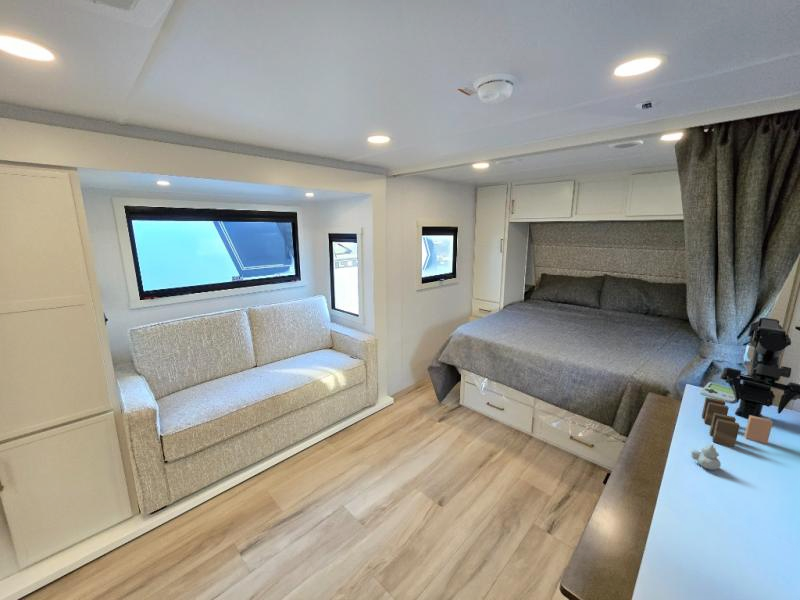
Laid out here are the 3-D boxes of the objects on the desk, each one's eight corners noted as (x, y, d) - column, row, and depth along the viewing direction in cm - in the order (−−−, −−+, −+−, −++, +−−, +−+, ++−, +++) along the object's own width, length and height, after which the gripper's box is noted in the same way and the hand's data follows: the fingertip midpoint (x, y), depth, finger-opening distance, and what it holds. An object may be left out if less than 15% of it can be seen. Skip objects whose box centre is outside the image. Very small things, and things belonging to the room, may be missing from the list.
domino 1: (701, 416, 122) (705, 397, 120) (719, 420, 119) (724, 400, 117) (702, 418, 120) (706, 398, 119) (720, 422, 118) (725, 402, 116)
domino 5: (744, 436, 110) (749, 415, 108) (765, 441, 108) (771, 419, 106) (745, 438, 109) (751, 417, 107) (767, 443, 106) (773, 422, 104)
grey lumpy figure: (718, 476, 93) (724, 452, 91) (688, 465, 98) (693, 441, 96) (719, 466, 97) (724, 442, 95) (689, 455, 101) (694, 433, 100)
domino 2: (703, 421, 119) (708, 401, 117) (722, 426, 116) (727, 405, 114) (705, 423, 117) (709, 403, 115) (723, 428, 115) (728, 407, 113)
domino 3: (709, 433, 112) (713, 412, 110) (729, 438, 109) (734, 416, 108) (710, 435, 111) (715, 414, 109) (730, 440, 108) (735, 419, 106)
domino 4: (712, 439, 109) (717, 418, 107) (732, 444, 106) (738, 423, 104) (713, 442, 107) (718, 420, 106) (734, 447, 105) (739, 425, 103)
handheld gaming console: (699, 391, 137) (709, 381, 146) (699, 394, 138) (708, 384, 146) (732, 401, 129) (740, 389, 138) (732, 404, 130) (740, 393, 138)
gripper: (731, 345, 108) (722, 389, 104) (820, 363, 96) (813, 413, 92) (724, 357, 116) (715, 398, 112) (805, 375, 104) (798, 421, 100)
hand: (757, 407), depth 104 cm, fingers open, 9 cm apart
